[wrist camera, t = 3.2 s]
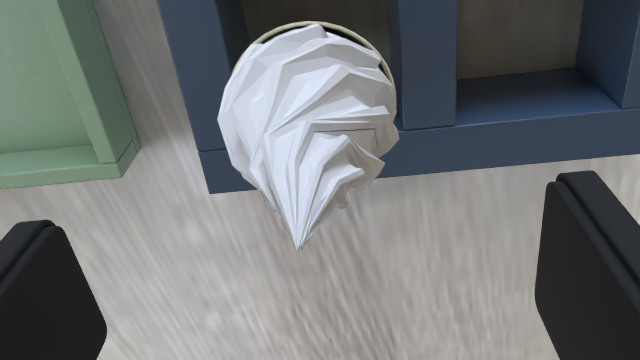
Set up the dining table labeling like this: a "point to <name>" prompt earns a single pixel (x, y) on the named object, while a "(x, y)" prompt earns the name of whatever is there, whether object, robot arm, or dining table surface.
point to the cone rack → (439, 91)
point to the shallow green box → (59, 97)
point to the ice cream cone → (308, 120)
